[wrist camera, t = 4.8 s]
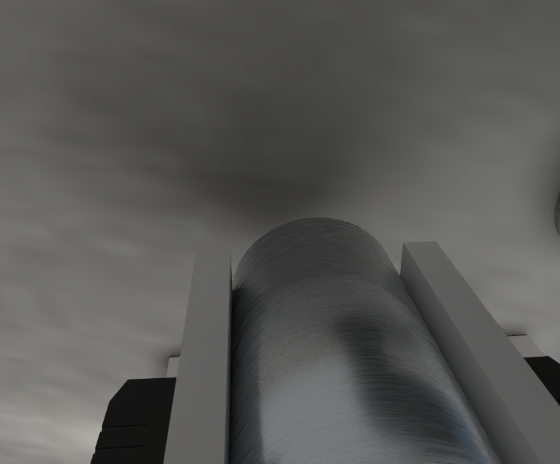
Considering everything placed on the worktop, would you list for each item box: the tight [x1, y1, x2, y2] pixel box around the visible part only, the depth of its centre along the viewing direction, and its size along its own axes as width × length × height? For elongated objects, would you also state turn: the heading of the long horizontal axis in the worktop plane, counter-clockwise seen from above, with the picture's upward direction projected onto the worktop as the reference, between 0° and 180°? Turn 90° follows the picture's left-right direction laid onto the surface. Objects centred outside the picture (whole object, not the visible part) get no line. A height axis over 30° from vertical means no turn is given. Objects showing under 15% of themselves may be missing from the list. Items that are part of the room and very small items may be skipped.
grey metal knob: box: [229, 218, 503, 464], centre depth 10 cm, size 4×4×7 cm
